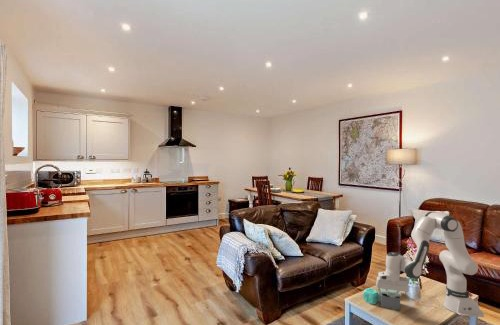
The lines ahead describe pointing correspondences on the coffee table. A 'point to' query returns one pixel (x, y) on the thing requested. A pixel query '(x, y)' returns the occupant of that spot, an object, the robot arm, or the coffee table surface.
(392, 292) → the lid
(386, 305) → the tub
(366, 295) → the decorative dice
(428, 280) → the coffee table surface
